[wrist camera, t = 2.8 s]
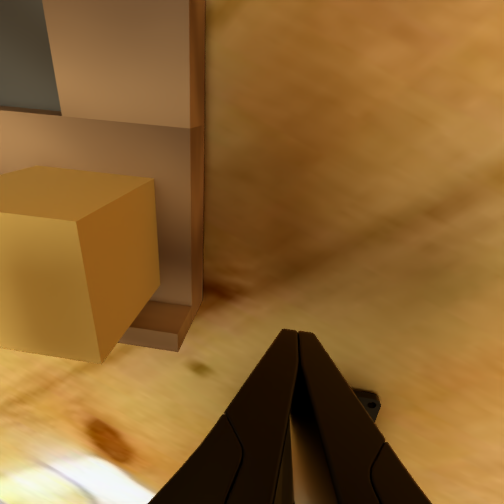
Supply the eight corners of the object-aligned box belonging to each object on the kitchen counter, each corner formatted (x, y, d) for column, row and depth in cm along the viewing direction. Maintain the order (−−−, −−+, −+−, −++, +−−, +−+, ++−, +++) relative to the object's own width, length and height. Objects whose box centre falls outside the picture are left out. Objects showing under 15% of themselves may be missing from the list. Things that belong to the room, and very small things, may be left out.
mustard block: (160, 284, 15) (101, 364, 10) (60, 270, 15) (-39, 341, 11) (154, 178, 13) (75, 221, 8) (36, 165, 13) (-99, 199, 9)
